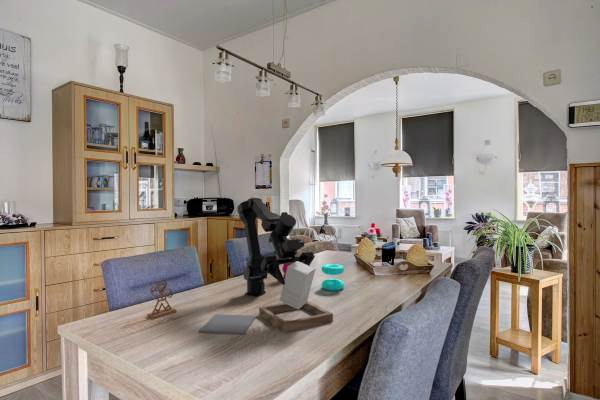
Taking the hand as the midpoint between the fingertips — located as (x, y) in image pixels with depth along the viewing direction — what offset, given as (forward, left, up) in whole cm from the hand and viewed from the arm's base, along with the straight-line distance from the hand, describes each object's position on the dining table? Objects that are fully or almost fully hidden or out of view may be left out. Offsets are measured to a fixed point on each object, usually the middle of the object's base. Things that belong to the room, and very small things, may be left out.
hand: (296, 282), depth 113 cm
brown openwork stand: (-44, -16, -12) cm, 49 cm away
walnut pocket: (-1, +1, -12) cm, 12 cm away
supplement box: (-2, +1, -7) cm, 7 cm away
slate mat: (-17, -14, -12) cm, 25 cm away
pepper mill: (-29, +49, -12) cm, 58 cm away
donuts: (-3, +41, -12) cm, 43 cm away
